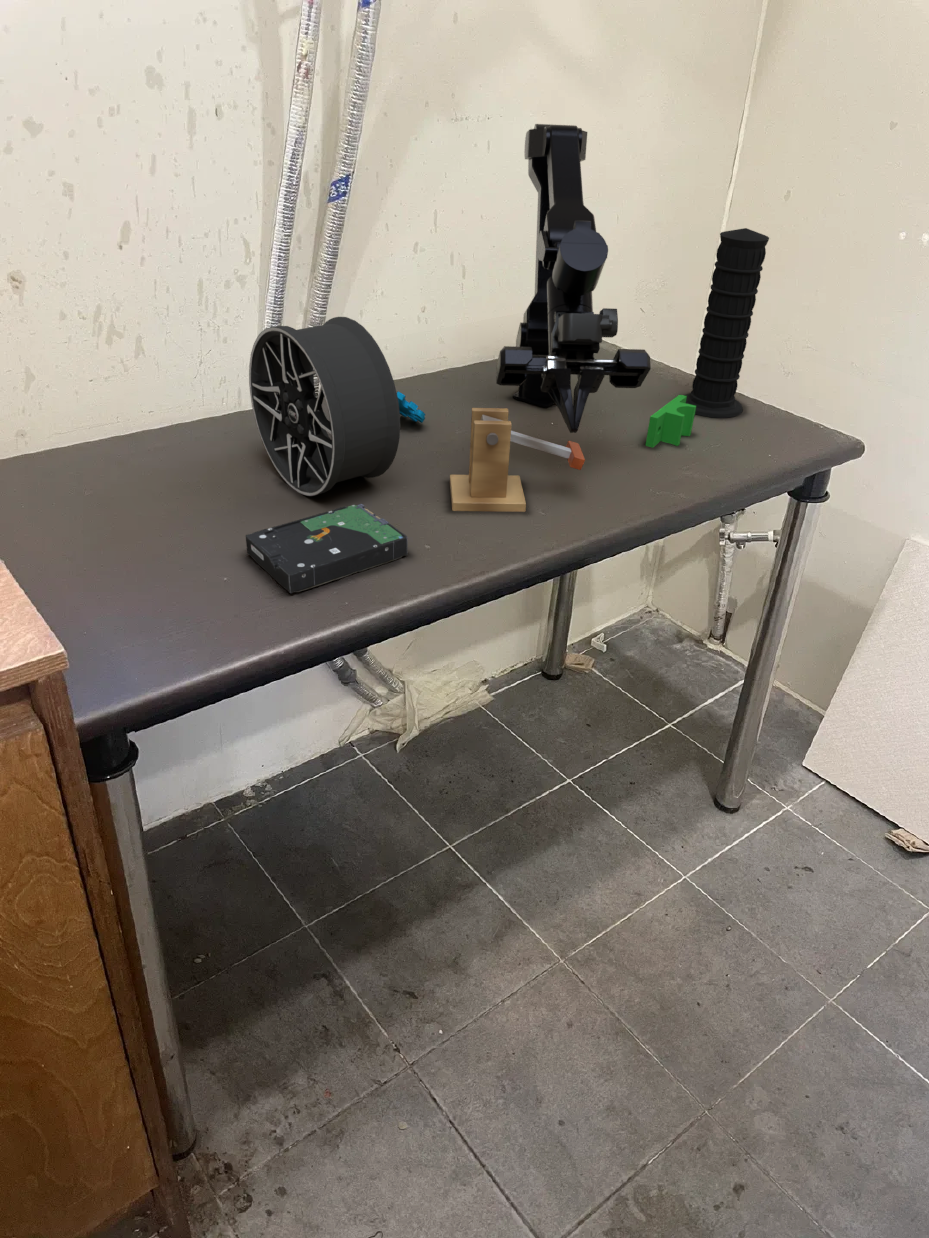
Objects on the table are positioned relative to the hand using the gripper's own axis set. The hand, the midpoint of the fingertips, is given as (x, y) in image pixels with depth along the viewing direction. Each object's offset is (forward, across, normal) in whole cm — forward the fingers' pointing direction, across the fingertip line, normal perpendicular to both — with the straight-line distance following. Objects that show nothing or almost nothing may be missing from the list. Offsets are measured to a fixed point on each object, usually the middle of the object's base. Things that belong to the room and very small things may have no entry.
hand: (574, 431), depth 113 cm
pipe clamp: (-7, +18, +18) cm, 27 cm away
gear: (-9, -23, +20) cm, 32 cm away
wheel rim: (+5, -31, +7) cm, 32 cm away
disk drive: (+18, -29, -7) cm, 35 cm away
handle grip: (-16, +28, +28) cm, 42 cm away
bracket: (+7, -11, +4) cm, 14 cm away
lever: (+3, -6, -1) cm, 7 cm away
